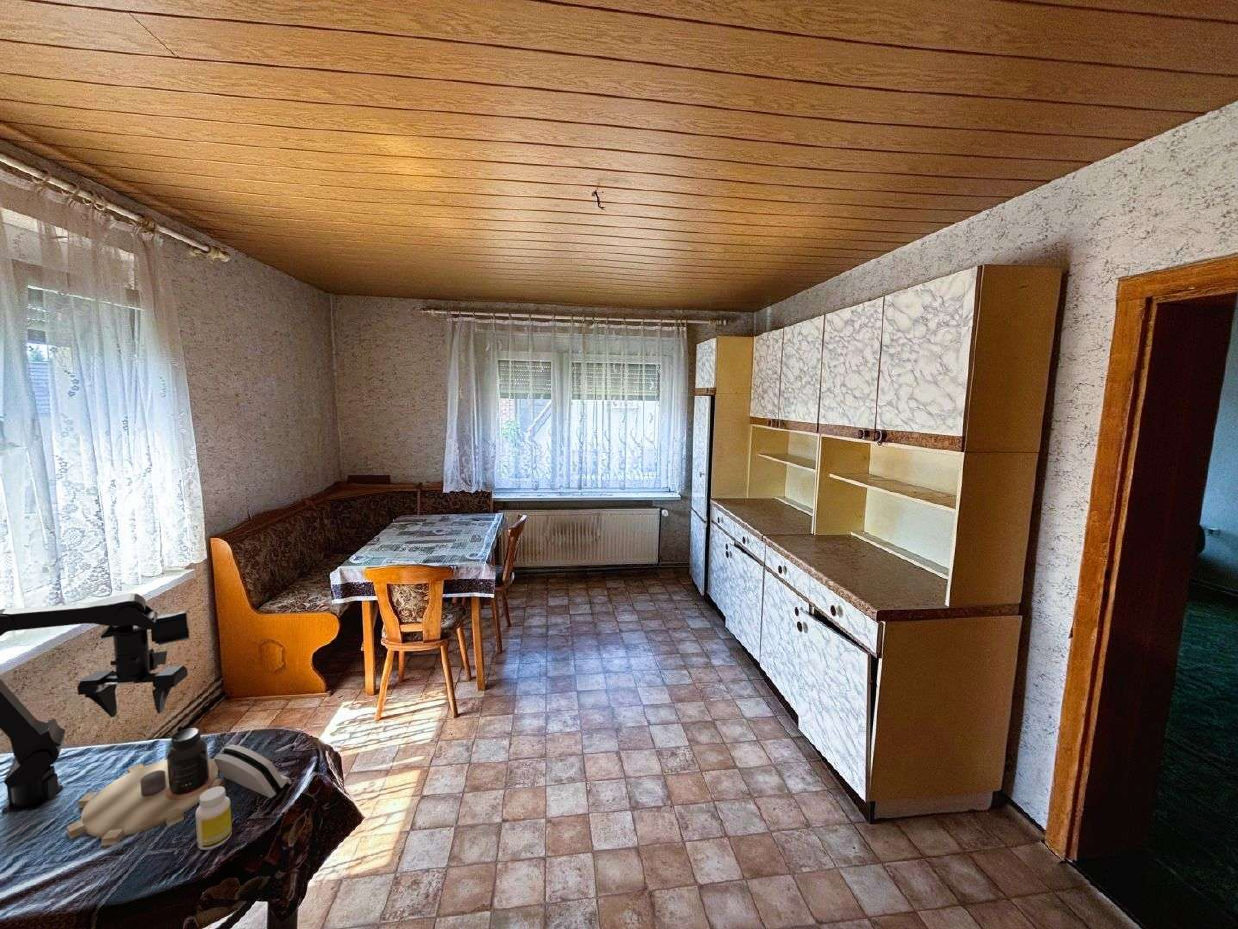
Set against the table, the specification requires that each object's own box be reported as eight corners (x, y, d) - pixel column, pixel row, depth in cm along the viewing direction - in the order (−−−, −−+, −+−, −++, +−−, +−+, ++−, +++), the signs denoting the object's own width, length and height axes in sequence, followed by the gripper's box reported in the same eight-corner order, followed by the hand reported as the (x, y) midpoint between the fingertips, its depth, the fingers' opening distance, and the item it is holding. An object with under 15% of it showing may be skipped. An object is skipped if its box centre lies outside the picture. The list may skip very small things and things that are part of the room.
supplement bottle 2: (238, 833, 104) (236, 787, 103) (209, 854, 99) (206, 807, 98) (220, 825, 105) (217, 780, 104) (190, 846, 100) (187, 799, 99)
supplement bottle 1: (173, 780, 115) (169, 730, 114) (211, 769, 119) (208, 720, 117) (166, 800, 109) (162, 748, 108) (207, 789, 113) (203, 737, 111)
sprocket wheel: (27, 855, 97) (25, 833, 97) (127, 762, 123) (126, 745, 122) (186, 835, 103) (184, 814, 102) (250, 750, 128) (249, 733, 128)
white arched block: (293, 783, 117) (276, 753, 113) (274, 803, 114) (255, 773, 109) (244, 762, 124) (227, 734, 120) (225, 781, 120) (206, 752, 116)
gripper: (199, 632, 128) (203, 692, 130) (110, 637, 125) (115, 698, 126) (170, 653, 117) (175, 718, 119) (72, 659, 114) (78, 726, 115)
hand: (137, 714), depth 120 cm, fingers open, 9 cm apart
